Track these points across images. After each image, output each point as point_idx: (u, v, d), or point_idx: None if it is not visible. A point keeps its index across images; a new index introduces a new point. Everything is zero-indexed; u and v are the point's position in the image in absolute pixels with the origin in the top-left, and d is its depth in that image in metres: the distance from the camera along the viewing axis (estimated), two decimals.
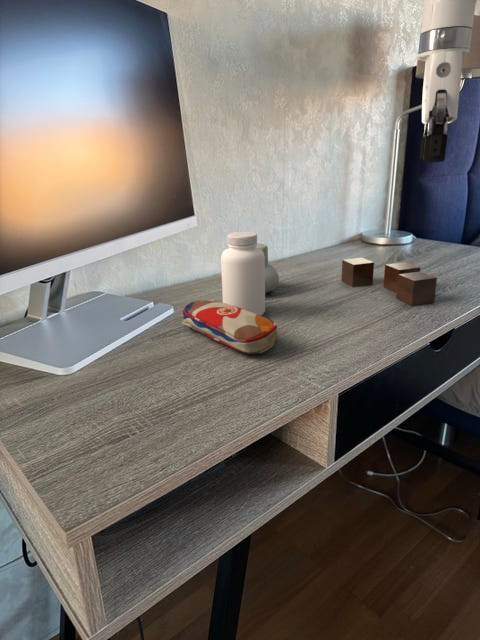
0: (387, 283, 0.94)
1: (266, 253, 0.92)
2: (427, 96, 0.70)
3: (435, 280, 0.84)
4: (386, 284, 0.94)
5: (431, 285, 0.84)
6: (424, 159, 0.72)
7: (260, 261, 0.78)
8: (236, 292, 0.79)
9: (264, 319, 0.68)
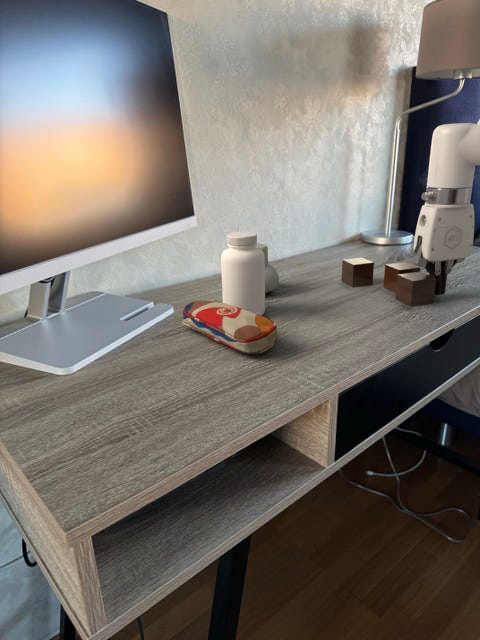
0: (387, 283, 0.94)
1: (266, 253, 0.92)
2: None
3: (434, 280, 0.83)
4: (386, 284, 0.94)
5: (430, 285, 0.84)
6: None
7: (260, 261, 0.78)
8: (236, 292, 0.79)
9: (264, 319, 0.68)
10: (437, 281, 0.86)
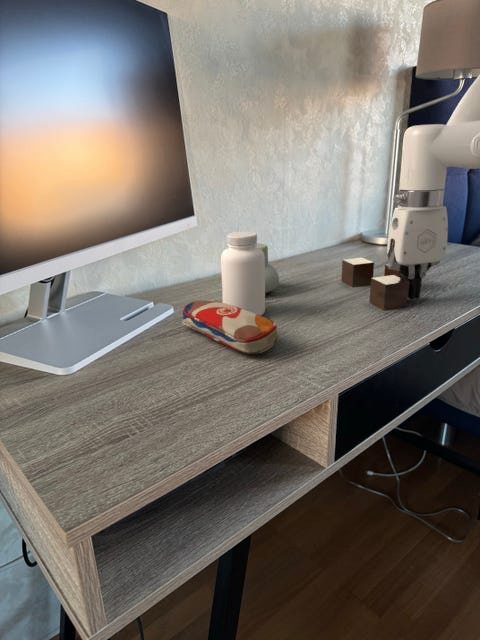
0: None
1: (266, 253, 0.92)
2: (388, 241, 0.83)
3: (407, 284, 0.82)
4: None
5: (403, 289, 0.82)
6: None
7: (260, 261, 0.78)
8: (236, 292, 0.79)
9: (264, 319, 0.68)
10: (411, 285, 0.84)
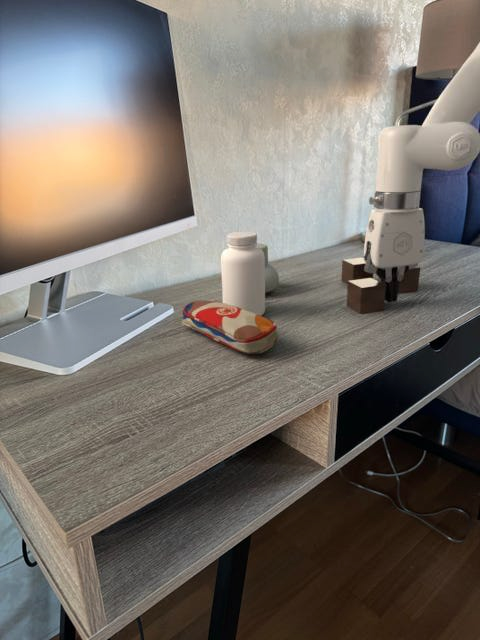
0: None
1: (266, 253, 0.92)
2: None
3: (384, 287, 0.81)
4: None
5: (379, 292, 0.81)
6: None
7: (260, 261, 0.78)
8: (236, 292, 0.79)
9: (264, 319, 0.68)
10: (389, 288, 0.83)
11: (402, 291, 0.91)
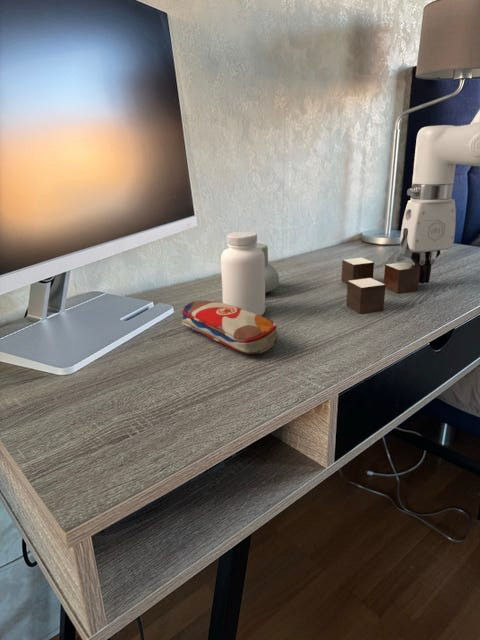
0: (387, 283, 0.94)
1: (266, 253, 0.92)
2: None
3: (384, 287, 0.81)
4: (386, 284, 0.94)
5: (379, 292, 0.81)
6: None
7: (260, 261, 0.78)
8: (236, 292, 0.79)
9: (264, 319, 0.68)
10: (422, 270, 0.93)
11: (402, 291, 0.91)
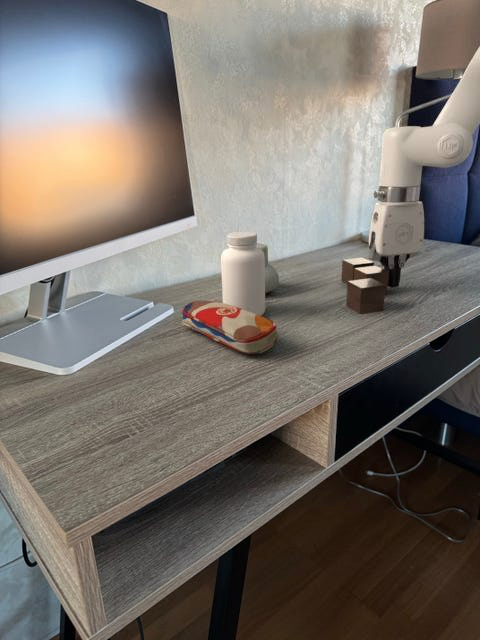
0: None
1: (266, 253, 0.92)
2: None
3: (384, 287, 0.81)
4: None
5: (379, 292, 0.81)
6: None
7: (260, 261, 0.78)
8: (236, 292, 0.79)
9: (264, 319, 0.68)
10: (391, 274, 0.91)
11: None
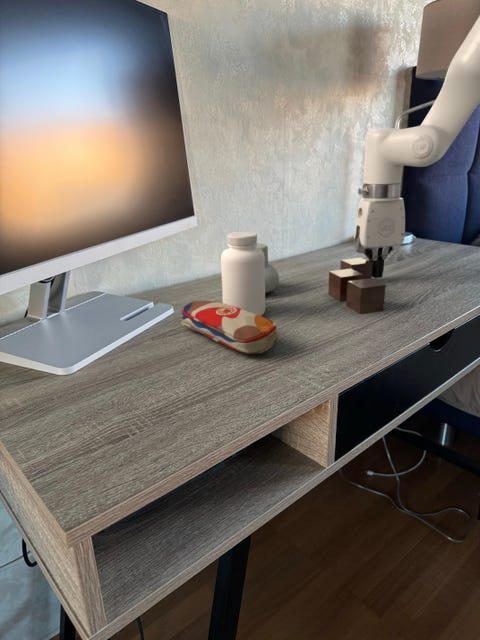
0: (331, 290, 0.91)
1: (266, 253, 0.92)
2: (355, 227, 0.97)
3: (384, 287, 0.81)
4: (330, 291, 0.91)
5: (379, 292, 0.81)
6: None
7: (260, 261, 0.78)
8: (236, 292, 0.79)
9: (263, 319, 0.68)
10: (375, 266, 0.98)
11: (345, 299, 0.88)
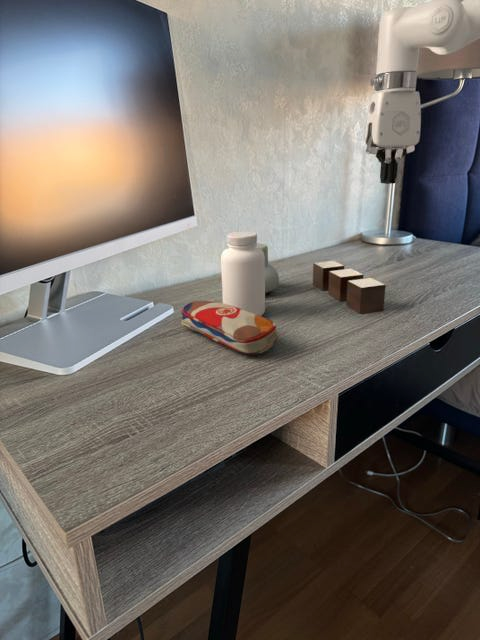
0: (331, 290, 0.91)
1: (266, 253, 0.92)
2: None
3: (384, 287, 0.81)
4: (330, 291, 0.91)
5: (379, 292, 0.81)
6: (380, 181, 0.94)
7: (260, 261, 0.78)
8: (236, 292, 0.79)
9: (263, 319, 0.68)
10: (388, 170, 0.91)
11: (345, 299, 0.88)
